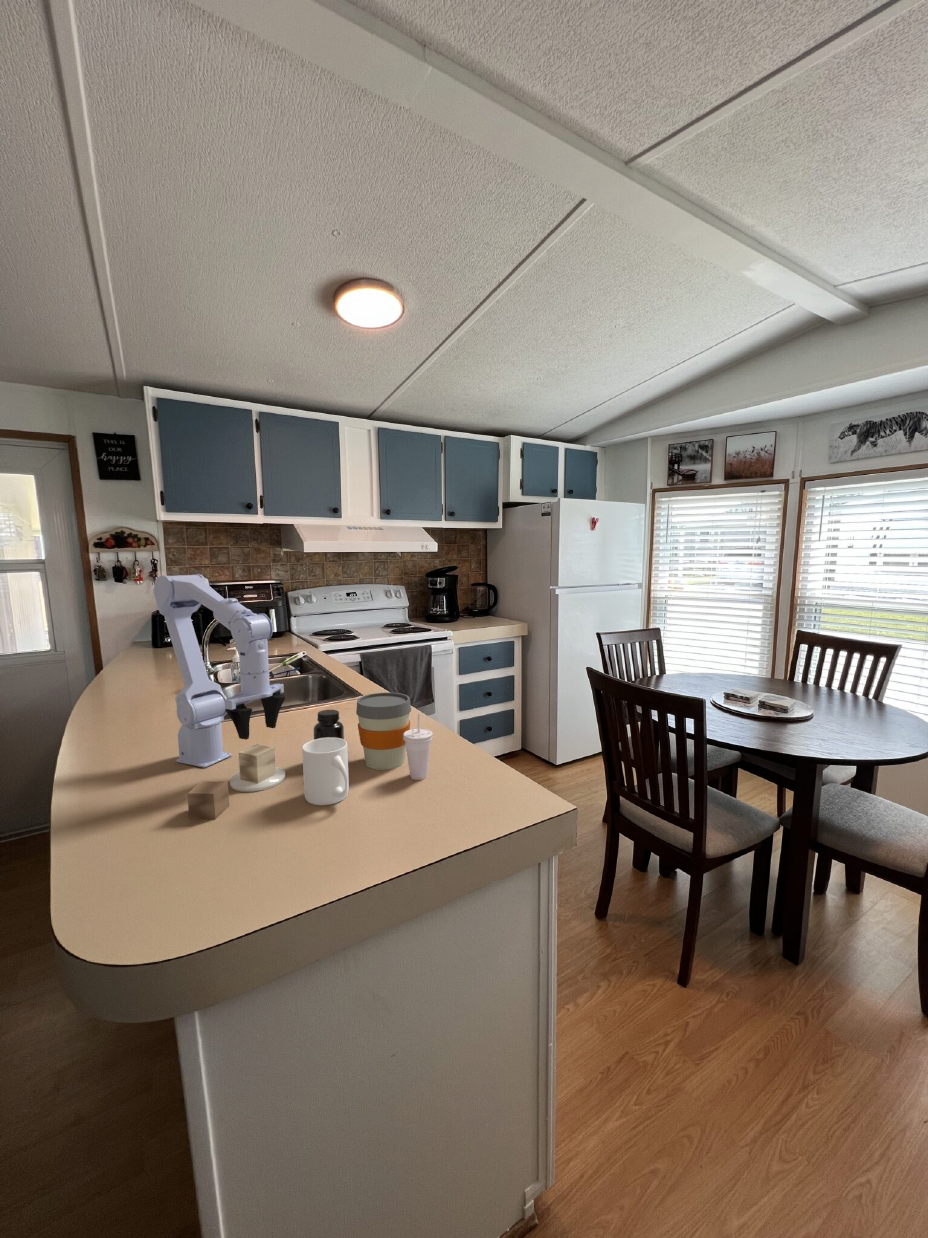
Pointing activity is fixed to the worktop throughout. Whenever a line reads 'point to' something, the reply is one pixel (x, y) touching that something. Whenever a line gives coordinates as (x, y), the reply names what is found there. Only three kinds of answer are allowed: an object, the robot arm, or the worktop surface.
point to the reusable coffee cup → (383, 728)
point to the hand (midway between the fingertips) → (257, 732)
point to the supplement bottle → (328, 725)
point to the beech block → (257, 763)
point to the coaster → (252, 787)
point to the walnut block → (208, 800)
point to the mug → (325, 771)
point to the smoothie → (418, 751)
